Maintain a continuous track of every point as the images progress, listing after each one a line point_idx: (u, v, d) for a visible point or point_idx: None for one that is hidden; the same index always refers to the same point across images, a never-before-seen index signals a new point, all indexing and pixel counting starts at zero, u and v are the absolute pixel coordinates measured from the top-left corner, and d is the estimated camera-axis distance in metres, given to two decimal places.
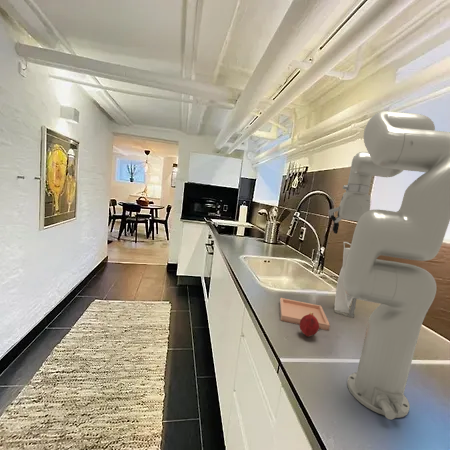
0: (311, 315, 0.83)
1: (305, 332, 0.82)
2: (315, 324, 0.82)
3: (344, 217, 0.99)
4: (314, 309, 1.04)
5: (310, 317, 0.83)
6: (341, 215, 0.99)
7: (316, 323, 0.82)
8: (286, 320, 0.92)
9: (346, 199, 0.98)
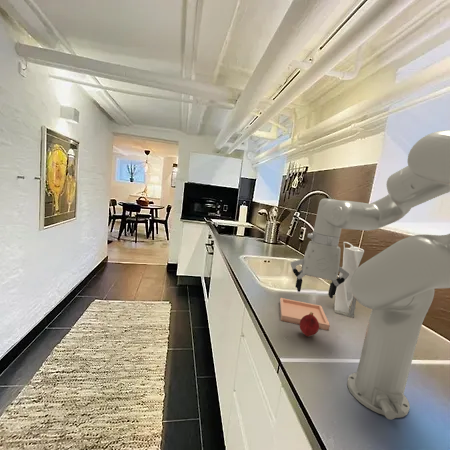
0: (311, 315, 0.83)
1: (305, 332, 0.82)
2: (315, 324, 0.82)
3: (308, 274, 0.80)
4: (314, 309, 1.04)
5: (310, 317, 0.83)
6: (304, 271, 0.80)
7: (316, 323, 0.82)
8: (286, 320, 0.92)
9: (310, 252, 0.79)
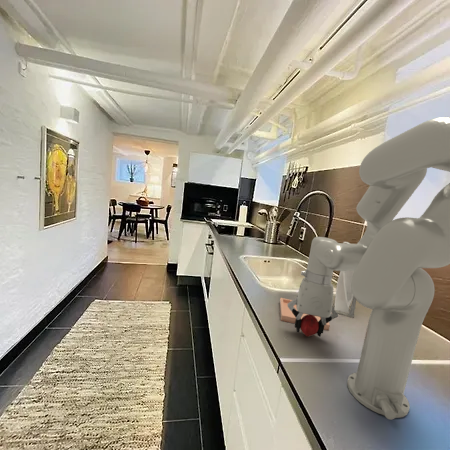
0: (311, 315, 0.83)
1: (305, 332, 0.82)
2: (315, 324, 0.82)
3: (302, 311, 0.81)
4: None
5: (310, 318, 0.83)
6: (298, 308, 0.82)
7: (316, 323, 0.82)
8: (286, 320, 0.92)
9: (304, 290, 0.81)
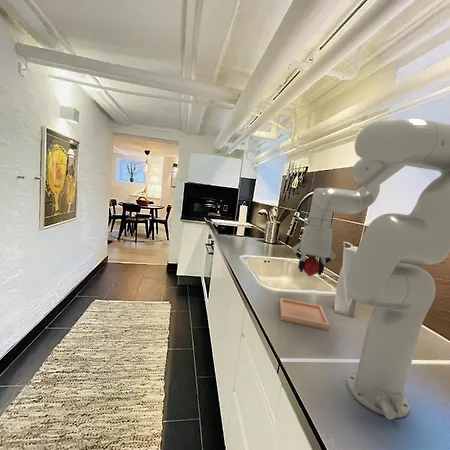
0: (313, 257, 0.96)
1: (307, 271, 0.95)
2: (316, 264, 0.94)
3: (305, 252, 0.94)
4: (314, 309, 1.04)
5: (312, 258, 0.95)
6: (302, 250, 0.94)
7: (317, 263, 0.95)
8: (286, 320, 0.92)
9: (306, 233, 0.93)
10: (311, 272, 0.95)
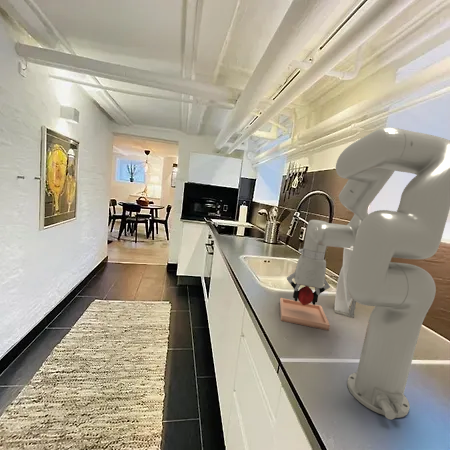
0: (307, 286, 0.97)
1: (302, 301, 0.97)
2: (310, 294, 0.96)
3: (299, 283, 0.96)
4: (314, 309, 1.04)
5: (306, 288, 0.97)
6: (296, 280, 0.96)
7: (311, 293, 0.96)
8: (286, 320, 0.92)
9: (301, 265, 0.95)
10: (305, 302, 0.96)
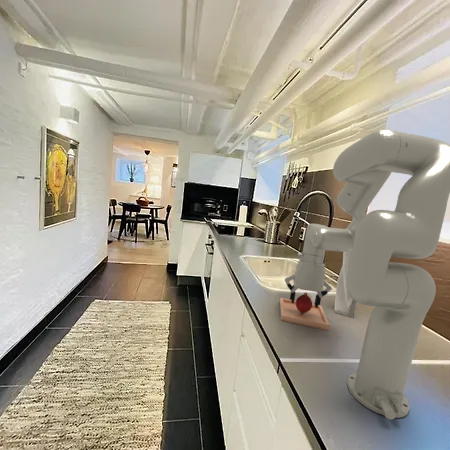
0: (305, 295, 0.98)
1: (300, 309, 0.97)
2: (309, 302, 0.96)
3: (298, 286, 0.96)
4: (314, 309, 1.04)
5: (305, 297, 0.97)
6: (295, 284, 0.96)
7: (309, 301, 0.97)
8: (286, 320, 0.92)
9: (300, 268, 0.95)
10: (304, 310, 0.96)
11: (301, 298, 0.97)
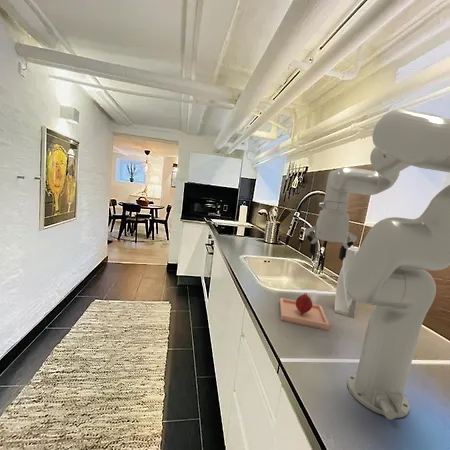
0: (305, 295, 0.98)
1: (300, 309, 0.97)
2: (309, 302, 0.96)
3: (321, 238, 0.90)
4: (314, 309, 1.04)
5: (305, 297, 0.97)
6: (317, 235, 0.90)
7: (310, 301, 0.97)
8: (286, 320, 0.92)
9: (322, 218, 0.89)
10: (304, 310, 0.96)
11: (301, 298, 0.97)
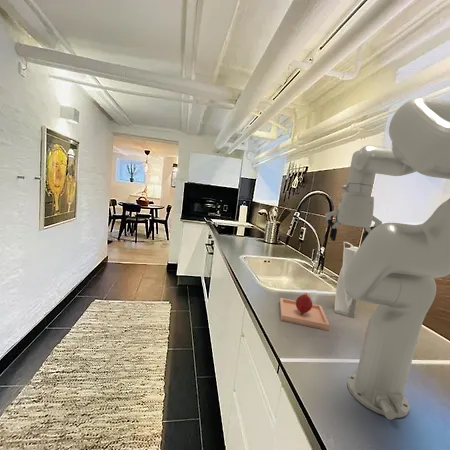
0: (305, 295, 0.98)
1: (300, 309, 0.97)
2: (309, 302, 0.96)
3: (343, 222, 0.85)
4: (314, 309, 1.04)
5: (305, 297, 0.97)
6: (339, 219, 0.85)
7: (310, 301, 0.97)
8: (286, 320, 0.92)
9: (345, 201, 0.84)
10: (304, 310, 0.96)
11: (301, 298, 0.97)
